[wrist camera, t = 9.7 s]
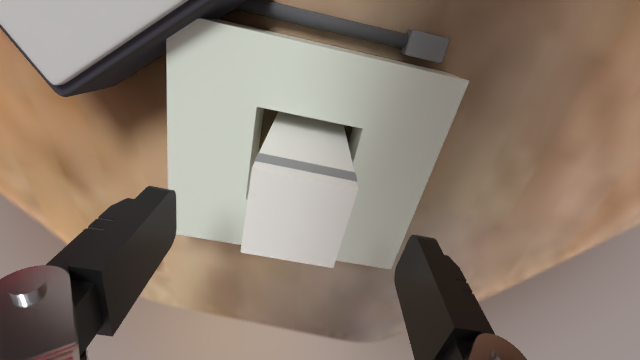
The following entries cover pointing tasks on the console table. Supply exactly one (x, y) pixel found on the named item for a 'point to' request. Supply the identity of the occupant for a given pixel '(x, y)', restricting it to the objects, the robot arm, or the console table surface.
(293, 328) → the console table surface
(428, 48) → the cable
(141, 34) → the dark grey product box
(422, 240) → the robot arm
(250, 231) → the white rectangular block
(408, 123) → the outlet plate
